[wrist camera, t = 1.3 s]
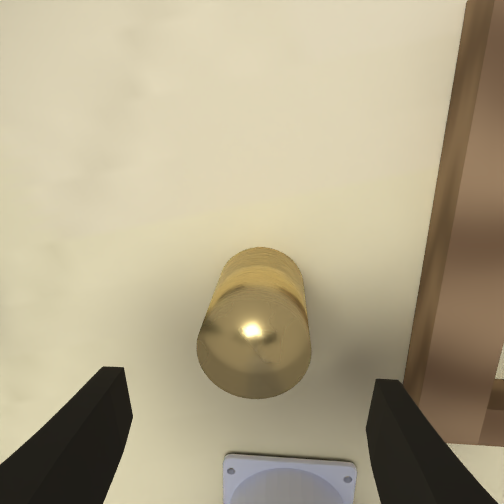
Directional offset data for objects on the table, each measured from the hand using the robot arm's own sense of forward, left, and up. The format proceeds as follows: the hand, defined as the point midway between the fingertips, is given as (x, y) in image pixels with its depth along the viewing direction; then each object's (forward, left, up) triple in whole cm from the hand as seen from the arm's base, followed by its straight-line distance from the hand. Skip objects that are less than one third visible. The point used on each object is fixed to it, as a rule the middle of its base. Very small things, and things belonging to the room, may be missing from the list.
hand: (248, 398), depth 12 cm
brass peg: (-1, 0, -10) cm, 10 cm away
